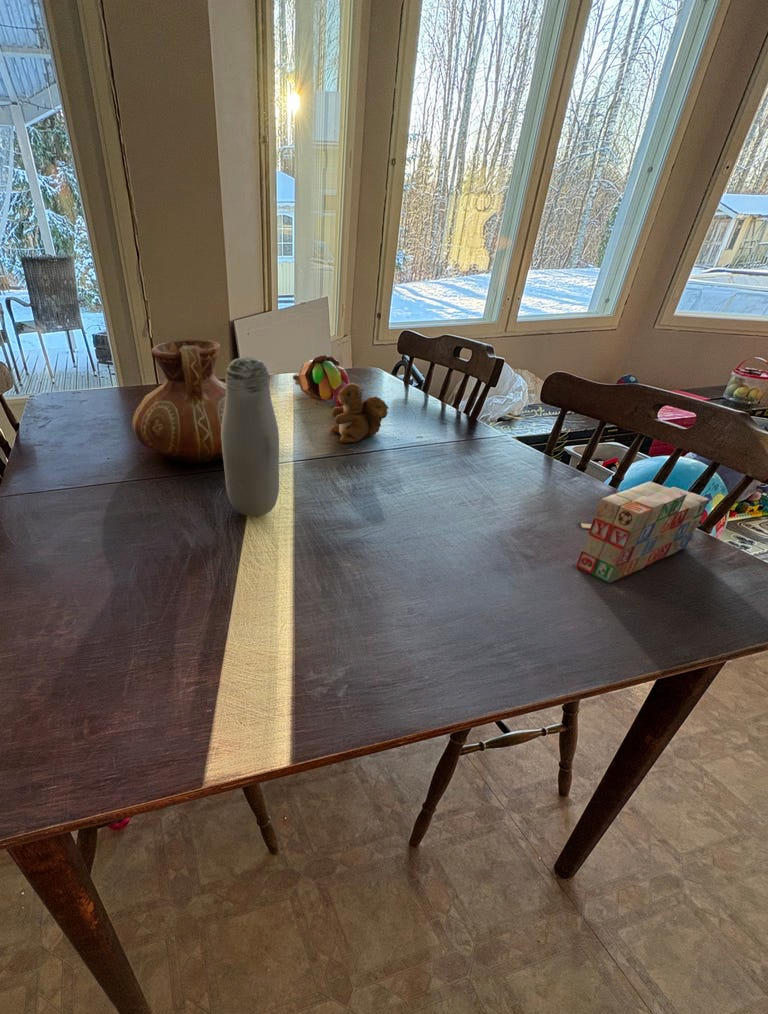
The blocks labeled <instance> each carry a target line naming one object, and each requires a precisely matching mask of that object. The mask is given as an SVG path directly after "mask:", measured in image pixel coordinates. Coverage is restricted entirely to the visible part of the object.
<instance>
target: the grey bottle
mask: <svg viewBox="0 0 768 1014" xmlns="http://www.w3.org/2000/svg"><path fill="white" fill-rule="evenodd" d="M270 379H271V378H270V373H269V370H268V368H267V366H266V365H265V363H264V362H263V361H262V360H260V359H258V358H255V357H251V356H245V357H244V356H242V357H237V358H235V359H233V360H232V361H231V362H230V363H229V364H228V366H227V368H226V372H225V383H226V398H225V408H224V414H223V419H222V427H221V441H222V452H223V458H222V460H223V468H224V478H225V479H224V480H225V487H226V488H225V489H226V493H227V498H228V500H229V502H230V504H231V505H232V507H233V509H235V510H236V512H238V513H240V514H241V515H243V516H246V517H253V518H256V517H257V518H258V517H262V516H265V515H267V514H269V513H270V512H271V511H272V510H273V509H274V508H275V506H276V504H277V502H278V497H279V492H280V433H279V426H278V421H277V417H276V413H275V409H274V405H273V402H272V395H271V386H270V385H271V383H270V381H271V380H270Z"/></svg>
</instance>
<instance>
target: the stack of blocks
mask: <svg viewBox="0 0 768 1014" xmlns="http://www.w3.org/2000/svg"><path fill="white" fill-rule="evenodd" d="M710 500H711V499H710V498H708V497H706V496H703V495H700V494H697V493H694V492H690V491H688V490H684V489H682V488H679V487H676V486H671V487H668V486H665V485H661V484H659V483H656V482H653V481H646V482H644V483H643V482H642V483H641V484H639V485H636V486H634V487H631V488H629V489H625V490H623V491H620V492H617V493H615V494H611V495H608V496H605V497H602V498H601V500H600V503H599V506H598V508H597V510H596V513H595V516H594V518H593V520H592V522H591V524H592V525H591V527H590V529H589V530H588V534H587V536H586V538H585V542H584V545H583V547H582V549H581V551H580V554H579V557H578V560H577V562H576V564H575V567H577V568H578V569H580V570H582V571H585V572H586V573H588V574H590V575H592V576H594V577H596V578H598V579H600V580H602V581H604V582H606V583H608V584H610V583H612V582H615V581H617V580H619V579H622V578H625V577H626V576H628V575H631V574H633V573H635V572H637V571H640V570H642V569H644V568H645V567H647V566H649V565H651V564H653V563H655V562H658V561H660V560H662V559H664V558H667V557H670V556H671V555H674V554H675V553H678V552H680V551H682V550H684V549H686V548H687V546H688V545H689V542H690V540H691V538H692V537H693V535H694V533H695V531H696V529H697V527H698V526H699V524H700V521H701V519H702V517H703V516H702V515H703V514H704V513H705V510H706V508H707V506H708V504H709V503H710Z"/></svg>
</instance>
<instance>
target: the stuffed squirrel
mask: <svg viewBox="0 0 768 1014" xmlns="http://www.w3.org/2000/svg"><path fill="white" fill-rule="evenodd" d="M363 394H364V389H363V388H361V387H360V386H359V385H358V382H356V381H353V382H349V384H348V385H346V386H345V387H344V388H343V389H341V390H340V392H339V394H338V395H339V396H337V400H338V398H339V401H340V402H341V403H342V404H343V405H344V406H341V407H338V406H334V407H333V408H332V409H331V413H330V414H331V416H332V417H334V418H335V419H334V420H335V423H336V424H334V425H332V426H331V427H330V432H332V433H334V434H339V435H340V436H341V437H340V439H339V441H340V442H339V443H342V444H347V443H356V442H359V441H361V440H363V438H370V437H373V436H375V435H376V434H377V433H379V431H380V428H381V427H382V423H381V422H382V420H383V419H385V418H386V417H387V416H388V413H389V412H388V410H389V408H390V407H389V406H388V404H386V402H385V401H384V400H382V399H381V398H380V397H377V396H372V397H371V396H370V397H366V399H365V400H362V398H363ZM337 400H336V401H337ZM336 401H335V402H336Z"/></svg>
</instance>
